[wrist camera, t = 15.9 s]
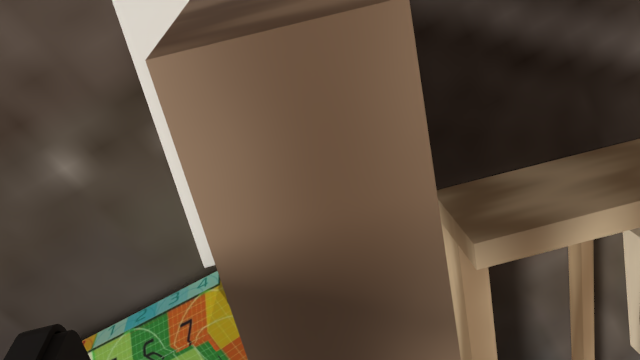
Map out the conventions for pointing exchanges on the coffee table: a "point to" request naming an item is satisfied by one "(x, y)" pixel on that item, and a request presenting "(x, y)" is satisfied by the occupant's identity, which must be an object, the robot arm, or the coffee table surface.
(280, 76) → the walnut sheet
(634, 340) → the offcut low
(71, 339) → the robot arm
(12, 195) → the coffee table surface
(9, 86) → the coffee table surface
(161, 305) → the puzzle game
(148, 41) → the mat
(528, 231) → the frame
